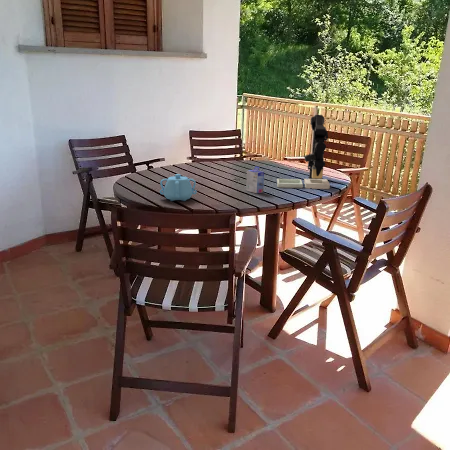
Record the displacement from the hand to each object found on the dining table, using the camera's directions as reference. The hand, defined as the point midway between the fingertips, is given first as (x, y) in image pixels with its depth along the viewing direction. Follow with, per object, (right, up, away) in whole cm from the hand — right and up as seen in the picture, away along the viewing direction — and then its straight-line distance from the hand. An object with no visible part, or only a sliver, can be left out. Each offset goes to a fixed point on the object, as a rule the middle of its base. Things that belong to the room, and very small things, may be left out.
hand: (317, 175), depth 274 cm
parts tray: (-16, -6, +3) cm, 18 cm away
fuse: (0, -1, 0) cm, 2 cm away
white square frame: (0, -6, +2) cm, 7 cm away
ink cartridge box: (-39, -11, -13) cm, 43 cm away
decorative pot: (-82, -16, -30) cm, 89 cm away
